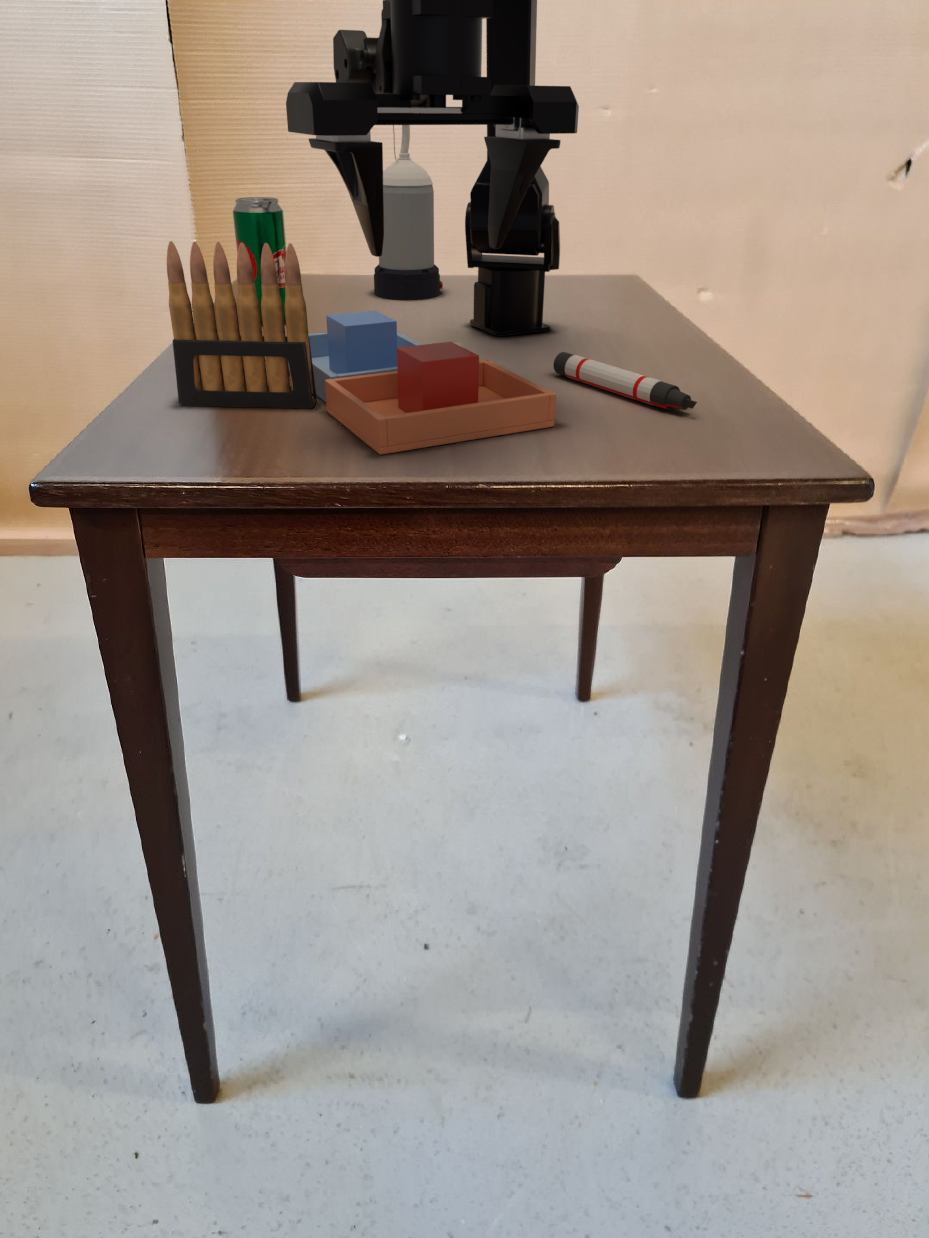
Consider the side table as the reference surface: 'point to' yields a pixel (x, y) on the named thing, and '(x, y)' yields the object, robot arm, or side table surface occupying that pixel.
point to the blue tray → (322, 361)
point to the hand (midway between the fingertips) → (437, 251)
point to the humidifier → (407, 231)
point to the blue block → (361, 341)
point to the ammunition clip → (217, 357)
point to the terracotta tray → (438, 410)
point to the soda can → (262, 237)
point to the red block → (436, 376)
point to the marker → (622, 382)
